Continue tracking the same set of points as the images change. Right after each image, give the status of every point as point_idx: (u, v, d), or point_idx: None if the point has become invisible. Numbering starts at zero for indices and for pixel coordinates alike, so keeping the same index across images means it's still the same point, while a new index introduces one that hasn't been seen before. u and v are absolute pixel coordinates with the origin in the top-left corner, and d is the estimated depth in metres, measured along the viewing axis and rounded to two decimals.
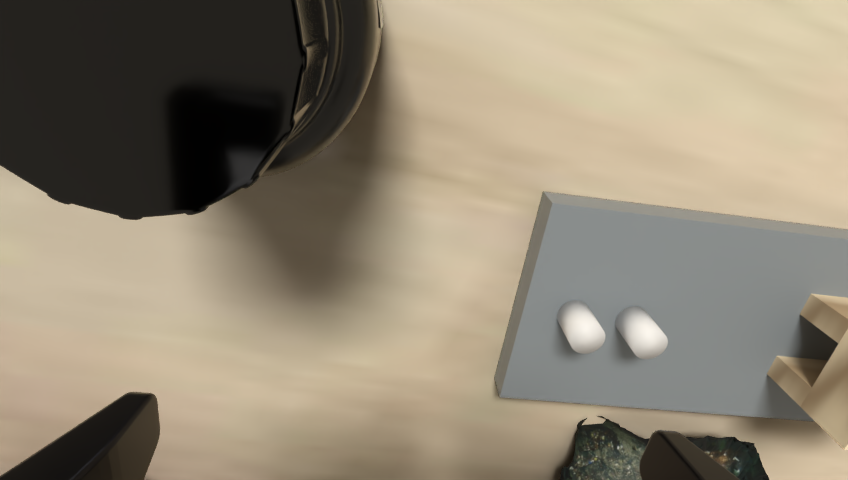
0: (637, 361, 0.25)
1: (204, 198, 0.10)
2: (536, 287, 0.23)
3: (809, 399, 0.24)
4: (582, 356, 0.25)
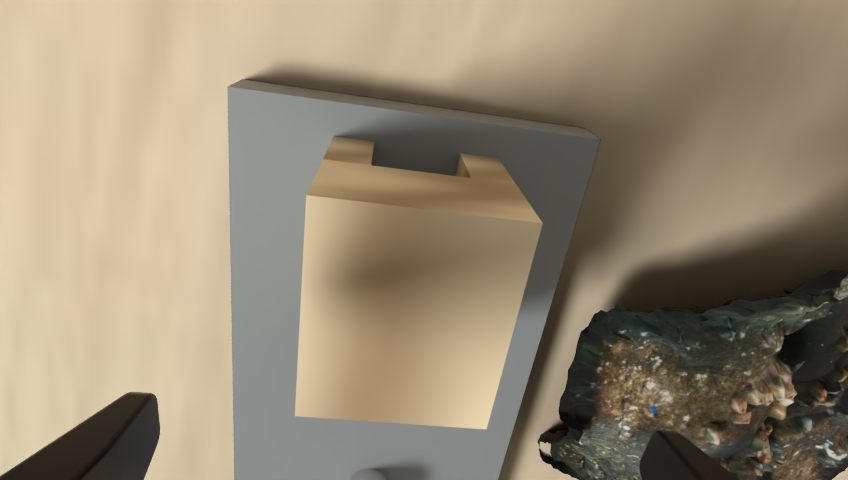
0: (430, 465, 0.21)
1: None
2: None
3: None
4: None
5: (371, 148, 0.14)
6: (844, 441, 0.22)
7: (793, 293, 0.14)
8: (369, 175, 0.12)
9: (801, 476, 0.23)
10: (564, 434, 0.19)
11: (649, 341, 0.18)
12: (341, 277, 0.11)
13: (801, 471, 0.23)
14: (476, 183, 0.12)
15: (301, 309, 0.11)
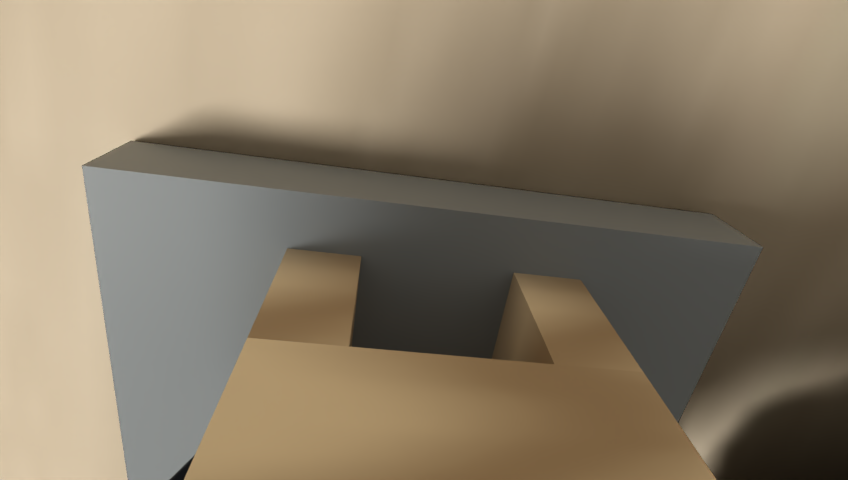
0: None
1: None
2: None
3: None
4: None
5: (354, 279, 0.07)
6: None
7: None
8: (342, 393, 0.05)
9: None
10: None
11: None
12: None
13: None
14: (570, 387, 0.06)
15: None
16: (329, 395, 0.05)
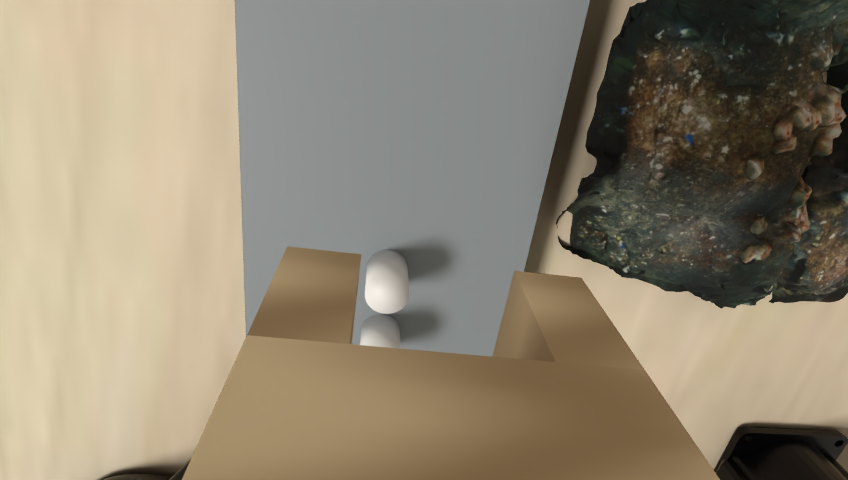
0: (452, 246, 0.19)
1: None
2: None
3: None
4: (442, 310, 0.21)
5: (354, 277, 0.07)
6: None
7: None
8: (341, 391, 0.05)
9: (835, 267, 0.22)
10: (590, 178, 0.18)
11: (688, 48, 0.16)
12: None
13: (836, 261, 0.21)
14: (571, 385, 0.06)
15: None
16: (329, 393, 0.05)
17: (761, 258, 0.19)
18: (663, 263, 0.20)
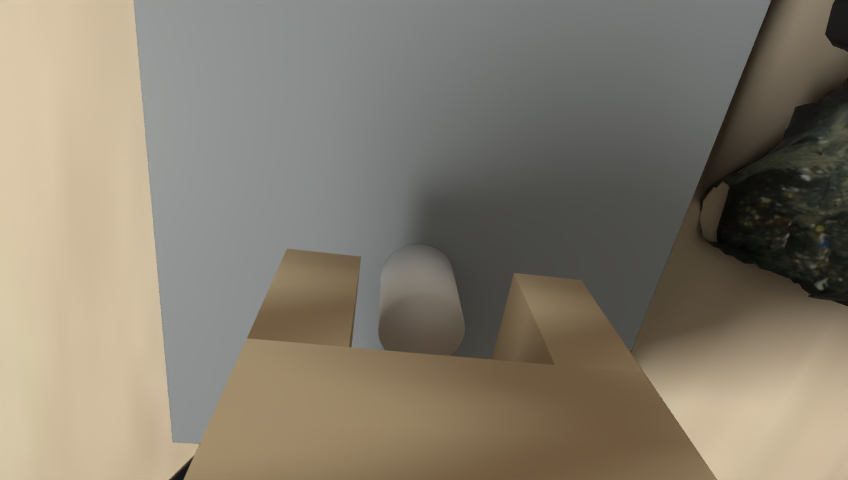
0: (537, 240, 0.11)
1: None
2: None
3: None
4: None
5: (354, 280, 0.07)
6: None
7: None
8: (342, 394, 0.05)
9: None
10: (820, 105, 0.09)
11: None
12: None
13: None
14: (570, 388, 0.06)
15: None
16: (329, 396, 0.05)
17: None
18: None
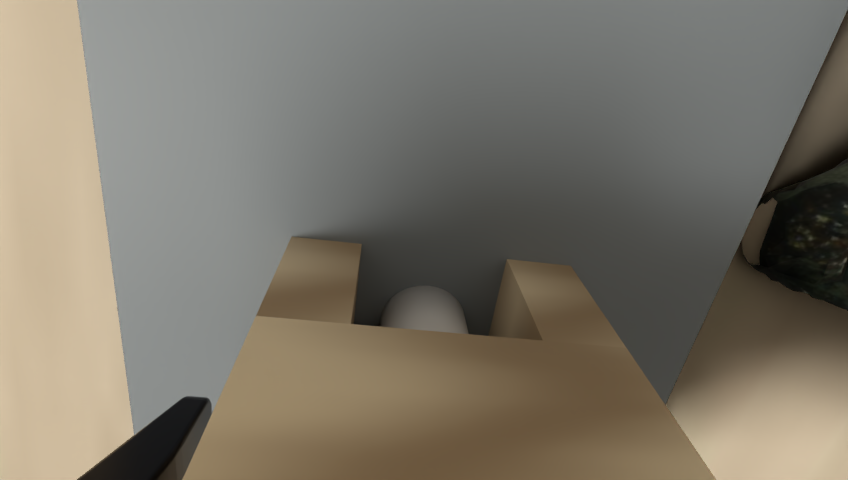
0: None
1: None
2: None
3: None
4: None
5: (355, 265, 0.08)
6: None
7: None
8: (345, 364, 0.06)
9: None
10: None
11: None
12: None
13: None
14: (556, 359, 0.06)
15: None
16: (332, 366, 0.06)
17: None
18: None
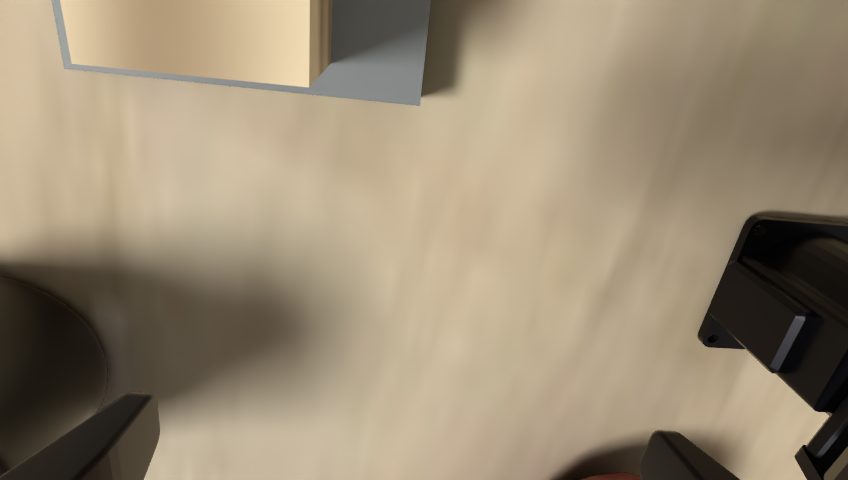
0: None
1: None
2: None
3: None
4: None
5: None
6: None
7: None
8: None
9: None
10: None
11: None
12: None
13: None
14: None
15: None
16: None
17: None
18: None
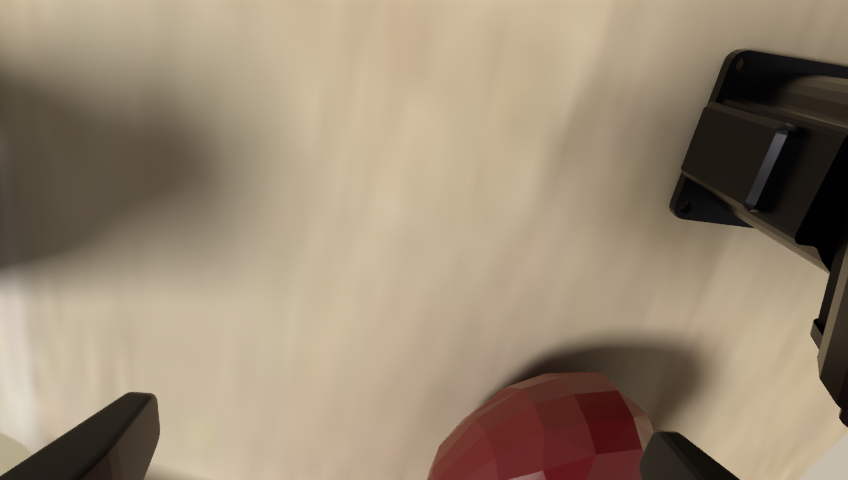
0: None
1: None
2: None
3: None
4: None
5: None
6: None
7: None
8: None
9: None
10: None
11: None
12: None
13: None
14: None
15: None
16: None
17: None
18: None
